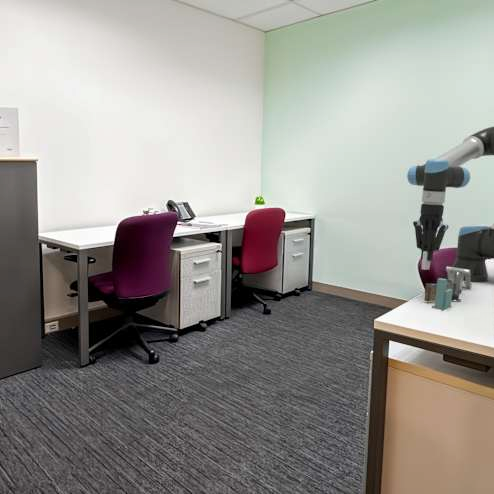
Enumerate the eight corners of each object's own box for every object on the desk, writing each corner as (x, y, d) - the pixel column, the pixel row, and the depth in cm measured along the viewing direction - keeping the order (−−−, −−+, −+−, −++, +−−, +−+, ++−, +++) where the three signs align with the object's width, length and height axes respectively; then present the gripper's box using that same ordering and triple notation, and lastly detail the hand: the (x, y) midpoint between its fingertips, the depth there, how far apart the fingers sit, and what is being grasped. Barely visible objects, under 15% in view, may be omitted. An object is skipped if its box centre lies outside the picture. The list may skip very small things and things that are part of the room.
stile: (439, 304, 164) (442, 275, 162) (450, 306, 161) (453, 278, 160) (431, 307, 159) (434, 278, 158) (443, 310, 157) (446, 280, 155)
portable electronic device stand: (471, 288, 190) (473, 267, 188) (465, 291, 184) (468, 270, 182) (449, 284, 195) (451, 264, 194) (443, 287, 189) (445, 267, 188)
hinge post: (451, 298, 172) (454, 270, 171) (462, 300, 170) (465, 272, 168) (447, 300, 170) (450, 271, 168) (458, 302, 167) (461, 273, 165)
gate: (448, 298, 169) (450, 281, 168) (451, 299, 168) (453, 282, 167) (424, 300, 166) (425, 283, 165) (427, 301, 164) (429, 284, 163)
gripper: (410, 202, 169) (403, 266, 173) (443, 205, 159) (435, 273, 163) (422, 202, 174) (416, 265, 177) (455, 205, 163) (447, 271, 167)
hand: (425, 269), depth 170 cm, fingers closed
